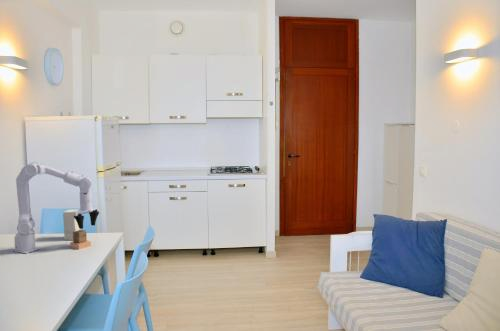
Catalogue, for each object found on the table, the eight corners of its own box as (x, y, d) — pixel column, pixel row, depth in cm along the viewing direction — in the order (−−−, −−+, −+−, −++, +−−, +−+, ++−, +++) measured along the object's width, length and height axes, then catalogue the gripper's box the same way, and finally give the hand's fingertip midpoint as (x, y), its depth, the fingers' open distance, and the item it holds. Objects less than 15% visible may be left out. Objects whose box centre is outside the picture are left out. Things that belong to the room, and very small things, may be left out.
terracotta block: (70, 248, 215) (70, 242, 215) (82, 244, 221) (82, 239, 221) (78, 250, 212) (78, 244, 211) (90, 246, 218) (90, 241, 217)
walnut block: (73, 242, 215) (72, 231, 215) (80, 240, 219) (80, 229, 219) (79, 243, 213) (79, 232, 213) (86, 241, 217) (86, 230, 217)
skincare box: (75, 240, 228) (74, 212, 226) (63, 240, 228) (62, 212, 227) (81, 236, 236) (80, 208, 235) (70, 236, 236) (68, 208, 235)
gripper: (79, 204, 207) (80, 231, 209) (102, 199, 220) (103, 224, 221) (69, 202, 211) (71, 229, 212) (93, 198, 223) (94, 223, 225)
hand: (87, 226), depth 217 cm, fingers open, 7 cm apart
